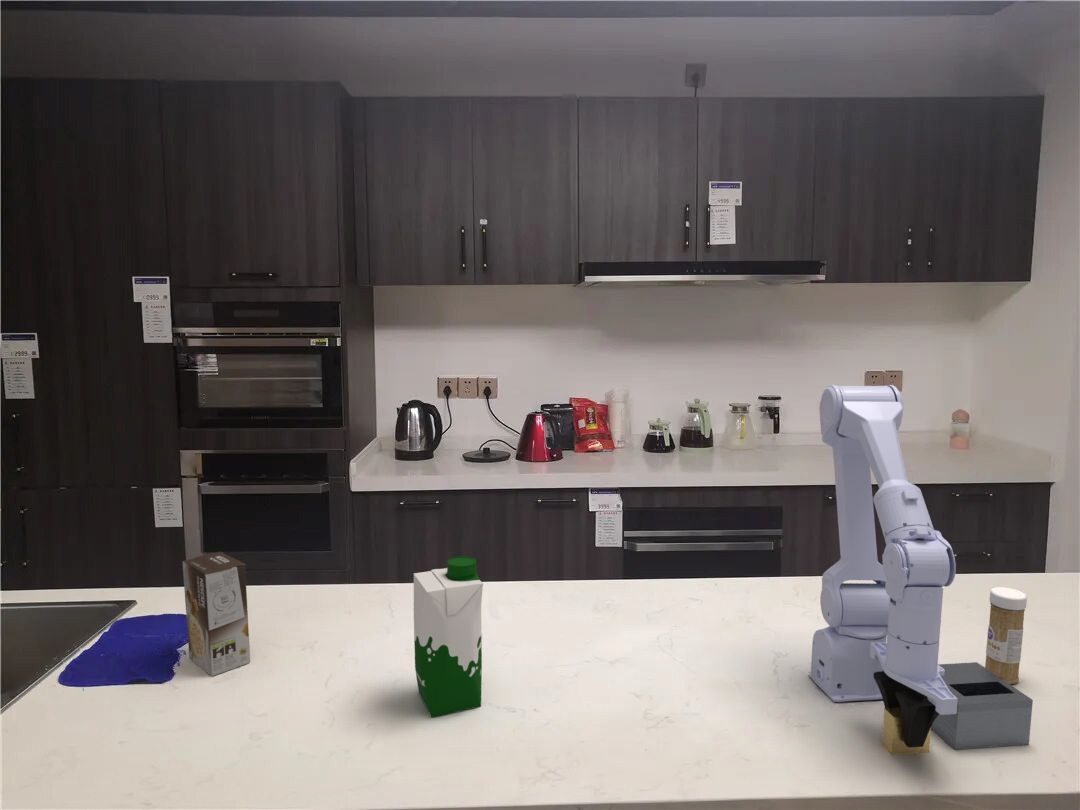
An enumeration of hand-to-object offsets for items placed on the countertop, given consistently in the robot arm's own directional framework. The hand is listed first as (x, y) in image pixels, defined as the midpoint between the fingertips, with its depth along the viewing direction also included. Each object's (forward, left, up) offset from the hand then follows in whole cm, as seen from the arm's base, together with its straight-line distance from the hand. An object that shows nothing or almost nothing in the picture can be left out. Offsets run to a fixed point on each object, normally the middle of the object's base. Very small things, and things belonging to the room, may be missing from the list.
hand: (906, 737), depth 91 cm
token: (0, 0, -2) cm, 2 cm away
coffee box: (-93, +34, -2) cm, 99 cm away
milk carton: (-57, +18, -2) cm, 60 cm away
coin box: (+11, +4, -1) cm, 12 cm away
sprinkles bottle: (+25, +15, -2) cm, 29 cm away
